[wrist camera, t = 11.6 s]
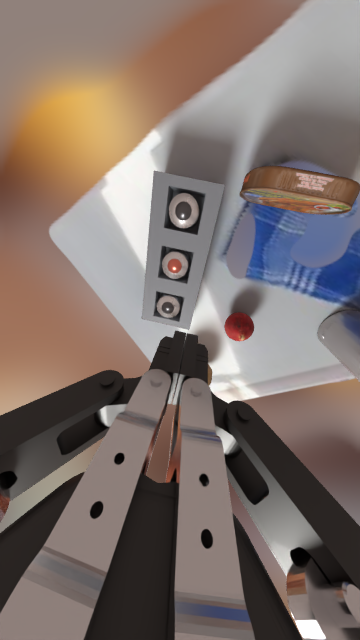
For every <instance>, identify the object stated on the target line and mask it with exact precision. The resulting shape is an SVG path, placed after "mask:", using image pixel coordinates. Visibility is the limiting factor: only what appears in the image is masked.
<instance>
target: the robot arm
mask: <svg viewBox="0 0 360 640" xmlns="http://www.w3.org/2000/svg"><path fill="white" fill-rule="evenodd" d="M185 337H186V340H185ZM318 338H319V340H320V341H321V342H322V343H323V344H324V346H325V347H326V348H327V349H328V350H329V351H330V352H331V353H332V354H333V355H334V356H335V357H336V358H337V359H338V360H339V361H340V362H341V363H342V364H343V365H344V366H345V367H346V368H347V369H348V370H349V371H350V372H351V373H352V374H353V375H354V376H355V377H356V378H357V380H359V382H360V311H356V310H346V311H341V312H338V313H335V314H333V315H331V316H330V317H328V318H327V319H326V320H325V321H324V322H323V323H322V324H321V325H320V327H319V330H318ZM184 342H185V344H184ZM197 343H198V336H197V335H193V334H188V333H187V335H186V333H184V332H179V331H175V334H174V337H173V338H171V337H167V336H165V337H164V338H163V339H162V340H161V341H160V343H159V346H158V348H157V351H156V353H155V356H154V358H153V361H152V363H151V366H150V369H149V370H148V371H147V372H146V373H144V375H143V376H141V377H138V378H128V379H124V378H123V376H122V375H121V374H120V373H119V372H117V371H114V370H106V371H102V372H100V373H97V374H95V375H93V376H91V377H88V378H86V379H84V380H81V381H79V382H77V383H74V384H72V385H70V386H68V387H65V388H63V389H61V390H58V391H56V392H54V393H51V394H49V395H47V396H44V397H42V398H40V399H37V400H35V401H33V402H31V403H28V404H26V405H24V406H21V407H19V408H17V409H15V410H12V411H10V412H8V413H5V414H3V415H1V416H0V522H1V520H2V519H3V517H4V516H5V514H6V512H7V509H8V507H9V503H10V501H11V500H13V499H14V498H15V497H17V496H19V495H20V494H22V493H23V492H24V491H26V490H27V489H29V488H30V487H32V486H33V485H35V484H36V483H37V482H39V481H40V480H42V479H43V478H45V477H46V476H48V475H49V474H51V473H52V472H53V471H55V470H56V469H58V468H59V467H60V466H62V465H64V464H65V463H67V462H68V461H70V460H71V459H72V458H74V457H75V456H77V455H78V454H80V453H81V452H83V451H84V450H85V449H87V448H88V447H90V446H91V445H93V444H94V443H96V442H97V441H98V440H100V439H101V438H103V437H104V436H105V437H104V439H103V441H102V443H101V445H100V446H99V448H98V450H97V452H96V454H95V455H94V457H93V459H92V461H91V462H90V464H89V466H88V468H87V469H86V471H85V472H83V473H80V474H78V475H77V476H74V477H73V478H71V479H69V480H68V481H66V482H65V483H63V484H62V485H61V486H59V487H58V488H57V489H55V490H54V491H53V492H52V493H50V494H49V495H48V496H47V497H45V498H44V499H43V500H42V501H40V502H39V503H38V504H36V505H35V506H34V507H33V508H32V509H30V510H29V511H28V512H27V513H25V514H24V515H23V516H21V517H20V518H19V519H17V520H16V521H15V522H14V523H13V524H11V525H10V526H9V527H7V528H6V529H5V530H4V531H3V532H1V533H0V640H303V639H304V640H360V526H359V525H358V524H357V523H356V522H355V521H354V520H353V519H352V517H351V516H350V515H349V514H348V513H347V512H346V511H345V510H344V509H343V507H342V506H341V505H340V504H339V503H338V502H337V501H336V500H335V499H334V498H333V496H332V495H331V494H330V493H329V492H328V491H327V490H326V489H325V488H324V487H323V485H322V484H321V483H320V482H319V481H318V480H317V479H316V478H315V477H314V475H313V474H312V473H311V472H310V471H309V470H308V469H307V468H306V467H305V466H304V465H303V463H302V462H301V461H300V460H299V459H298V458H297V457H296V456H295V455H294V453H293V452H292V451H291V450H290V449H289V448H288V447H287V446H286V445H285V444H284V443H283V442H282V440H281V439H280V438H279V437H278V436H277V435H276V434H275V433H274V431H273V430H272V429H271V428H270V427H269V426H268V425H267V424H266V423H265V422H264V420H263V419H262V418H261V417H260V416H259V415H258V414H257V413H256V412H255V411H254V410H253V408H252V407H251V406H249V405H248V404H246V403H244V402H242V401H232V402H230V403H229V404H228V403H227V402H225V401H223V400H221V399H219V398H218V397H216V396H215V395H214V394H213V393H212V392H211V390H210V387H209V386H208V351H207V349H206V347H205V345H202V344H197ZM183 347H184V348H183ZM175 386H176V387H175ZM174 390H175V392H174ZM173 394H174V397H173ZM172 398H173V403H172V404H174V405H176V409H175V414H174V418H173V425H172V435H171V446H170V456H169V465H168V470H167V476H166V483H157V482H155V481H153V480H152V479H150V478H149V477H147V476H146V473H147V470H148V466H149V462H150V458H151V455H152V452H153V448H154V445H155V442H156V439H157V435H158V432H159V429H160V426H161V423H162V419H163V416H164V415H165V412H166V408H167V404H168V403H169V404H171V402H172ZM227 478H228V480H229V481H230V483H231V484H232V486H233V488H234V490H235V491H236V493H237V495H238V496H239V498H240V500H241V501H242V503H243V504H244V506H245V508H246V509H247V511H248V513H249V515H250V516H251V518H252V520H253V521H254V523H255V525H256V526H257V528H258V530H259V531H260V533H261V535H262V536H263V538H264V540H265V541H266V543H267V545H268V546H269V548H270V550H271V551H272V553H273V555H274V556H275V558H276V560H277V561H278V563H279V565H280V566H281V568H282V569H283V571H284V573H285V575H286V577H287V579H286V590H287V596H288V605H289V609H290V611H291V614H292V616H293V617H294V619H295V622H296V624H297V626H298V628H299V630H300V633H301V635H302V637H303V639H302V637H301V636H300V634H299V632H298V630H297V628H296V626H295V624H294V622H293V620H292V618H291V617H290V615H289V613H288V611H287V609H286V607H285V605H284V603H283V602H282V599H281V598H280V596H279V594H278V592H277V590H276V588H275V586H274V584H273V583H272V581H271V579H270V577H269V575H268V573H267V571H266V569H265V567H264V565H263V563H262V562H261V560H260V558H259V556H258V554H257V552H256V550H255V549H254V546H253V545H252V543H251V541H250V539H249V537H248V535H247V533H246V532H245V530H244V528H243V527H242V525H241V524H240V522H239V521H238V519H237V518H236V516H235V515H234V514H233V513H232V508H231V500H230V493H229V486H228V480H227Z"/></svg>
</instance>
